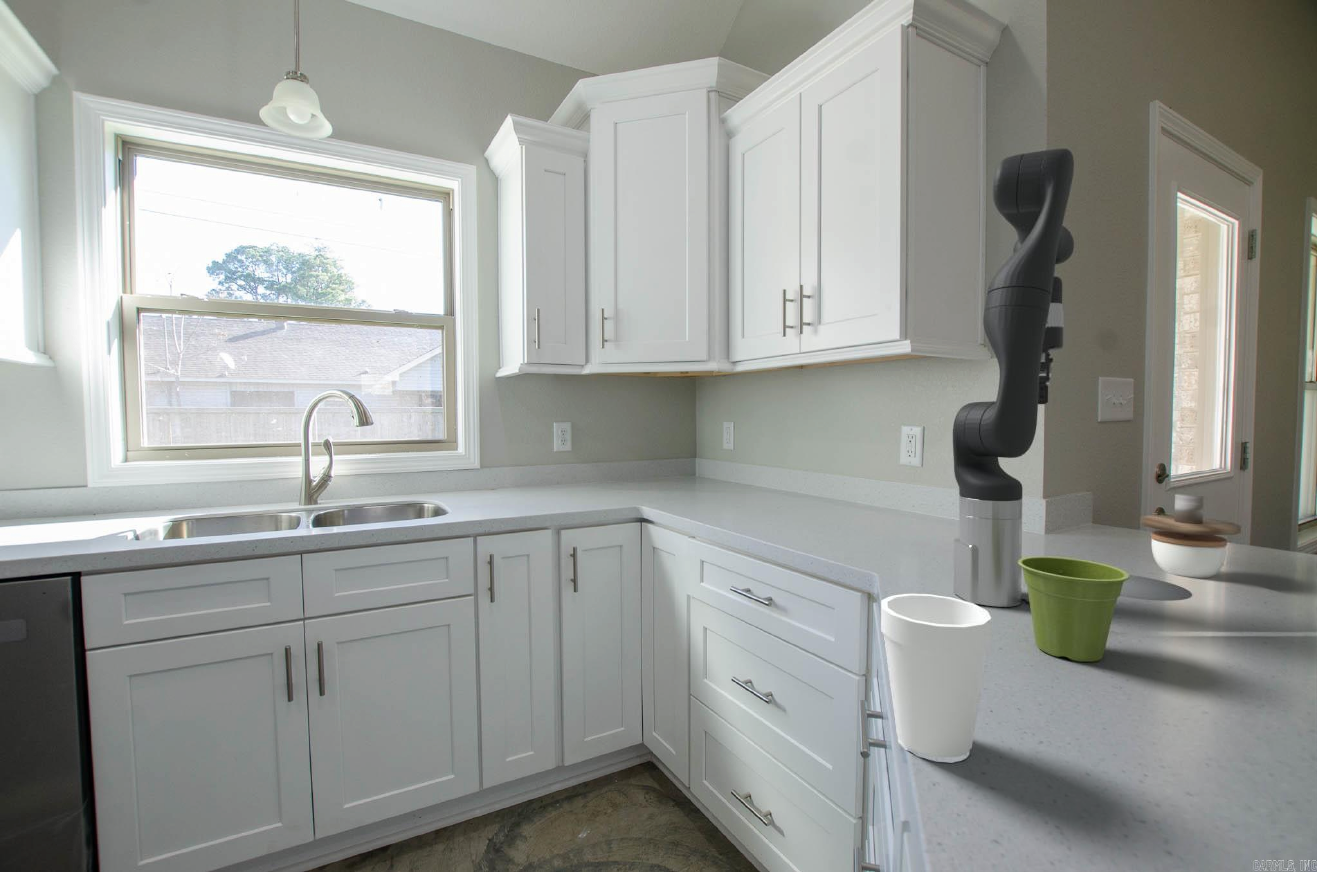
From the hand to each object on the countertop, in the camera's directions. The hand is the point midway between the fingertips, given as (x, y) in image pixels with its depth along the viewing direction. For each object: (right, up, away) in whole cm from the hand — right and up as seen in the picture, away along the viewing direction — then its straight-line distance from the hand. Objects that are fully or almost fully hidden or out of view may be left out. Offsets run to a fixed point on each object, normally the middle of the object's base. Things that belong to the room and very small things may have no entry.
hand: (1041, 404), depth 124 cm
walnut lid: (+19, -24, -14) cm, 33 cm away
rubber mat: (+1, -34, -21) cm, 40 cm away
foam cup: (-55, -36, -69) cm, 95 cm away
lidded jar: (+19, -34, -14) cm, 41 cm away
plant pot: (-28, -35, -48) cm, 65 cm away
